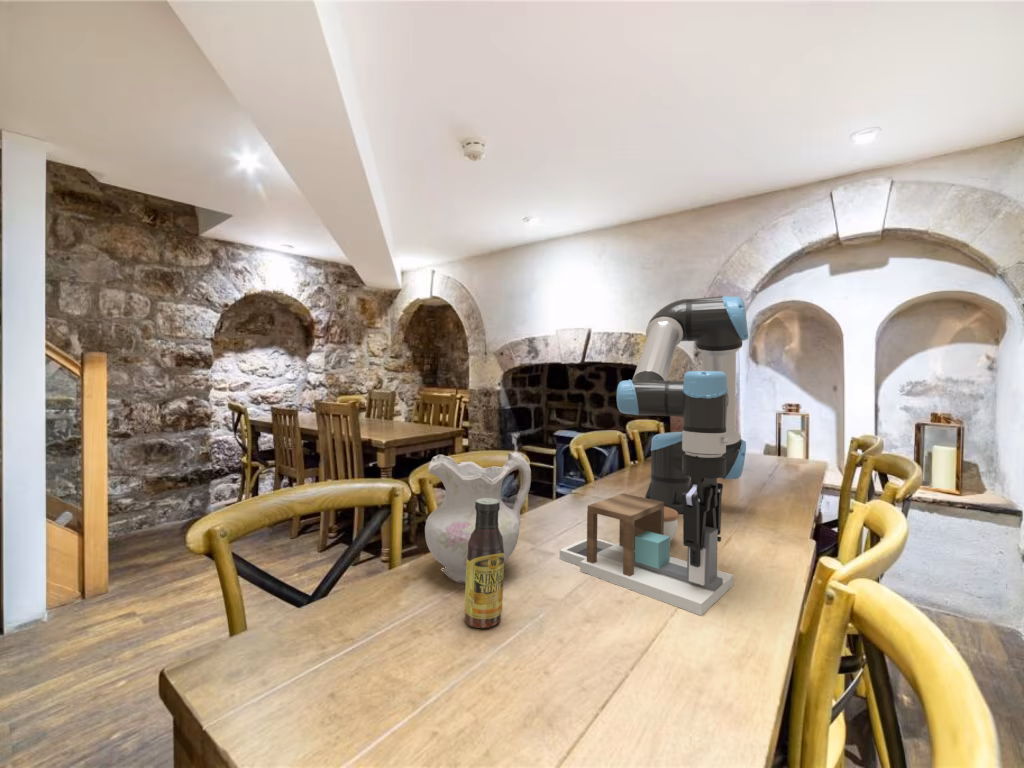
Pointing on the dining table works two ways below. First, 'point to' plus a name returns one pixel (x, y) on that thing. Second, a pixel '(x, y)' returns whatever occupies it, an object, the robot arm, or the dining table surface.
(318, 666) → the dining table surface
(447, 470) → the ceramic pitcher
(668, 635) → the dining table surface
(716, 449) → the robot arm
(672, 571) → the grey l-shaped piece
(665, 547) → the block
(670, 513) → the lidded jar
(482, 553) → the sauce bottle
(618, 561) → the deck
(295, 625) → the dining table surface
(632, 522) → the tunnel
